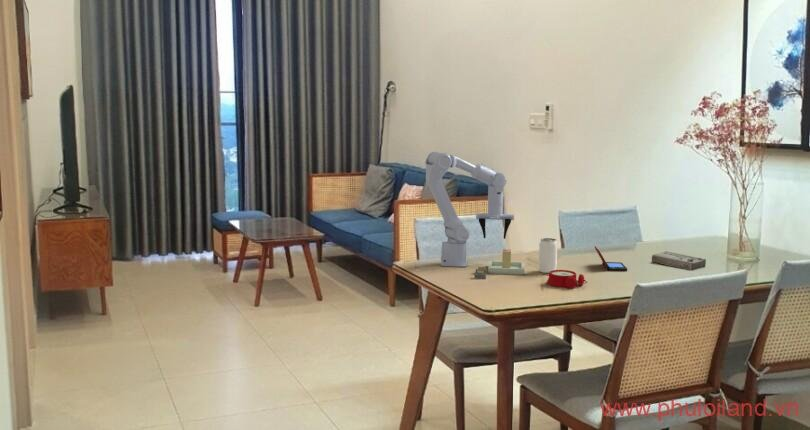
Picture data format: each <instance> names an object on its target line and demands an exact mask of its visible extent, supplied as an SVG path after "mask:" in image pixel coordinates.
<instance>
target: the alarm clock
mask: <svg viewBox="0 0 810 430" xmlns="http://www.w3.org/2000/svg"><path fill="white" fill-rule="evenodd" d="M541 275H542V276H546V273H542V274H541ZM547 276H548V279H547V280H546V284H547V285H549V286H553V287H557V288H558V287H559V288H567V289H574V288H575V287H577V286H578V287H582V286H583V285H585V284H587V283H588V281H587V280H586V279H585V274H582V273H580V274H578V277H577V273H576V272H575V271H572V270H567V269H556V270H553V271H550V272H549V273H548V274H547Z"/></svg>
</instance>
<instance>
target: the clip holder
mask: <svg viewBox="0 0 810 430" xmlns="http://www.w3.org/2000/svg"><path fill="white" fill-rule="evenodd" d="M487 274H488V268H485V266H477V268H475V273H474V275H473V276H474V277H473V278H474V279H485V280H486V278H487Z"/></svg>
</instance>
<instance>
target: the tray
mask: <svg viewBox="0 0 810 430" xmlns="http://www.w3.org/2000/svg"><path fill="white" fill-rule="evenodd" d="M487 274H491V275H494V274H496V275H518V276H525V262H524V261H511V268H502V260H501V261H500V260H489V261H488V268H487Z"/></svg>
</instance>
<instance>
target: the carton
mask: <svg viewBox="0 0 810 430" xmlns="http://www.w3.org/2000/svg"><path fill="white" fill-rule="evenodd" d="M511 259H512V249H510V248H509V249H508V248H502V258H501V261H502V268H511V262H512V260H511Z"/></svg>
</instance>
